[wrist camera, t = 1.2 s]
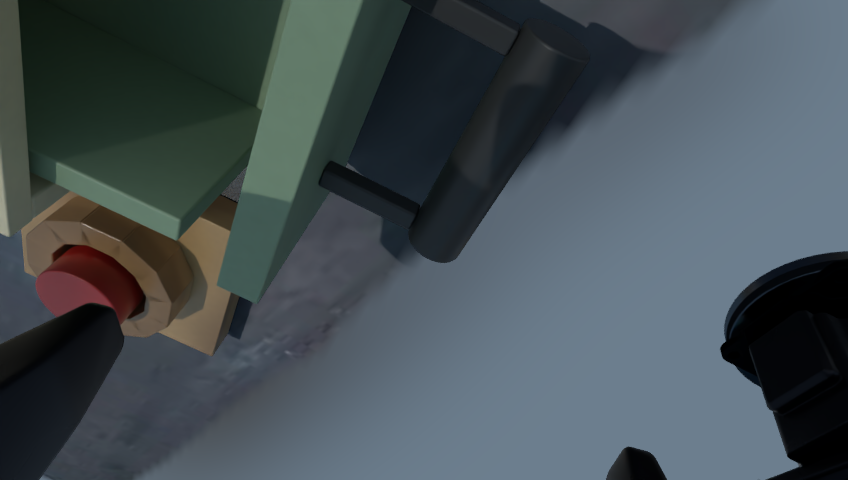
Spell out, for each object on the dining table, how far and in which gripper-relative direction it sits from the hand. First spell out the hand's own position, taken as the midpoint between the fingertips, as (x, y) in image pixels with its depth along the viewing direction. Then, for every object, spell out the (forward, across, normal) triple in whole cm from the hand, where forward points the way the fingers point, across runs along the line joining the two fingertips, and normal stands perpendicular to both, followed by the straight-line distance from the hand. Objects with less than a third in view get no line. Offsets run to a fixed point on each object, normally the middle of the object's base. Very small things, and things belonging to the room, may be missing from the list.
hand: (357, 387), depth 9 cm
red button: (+9, +14, +10) cm, 19 cm away
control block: (+12, +14, +10) cm, 21 cm away
